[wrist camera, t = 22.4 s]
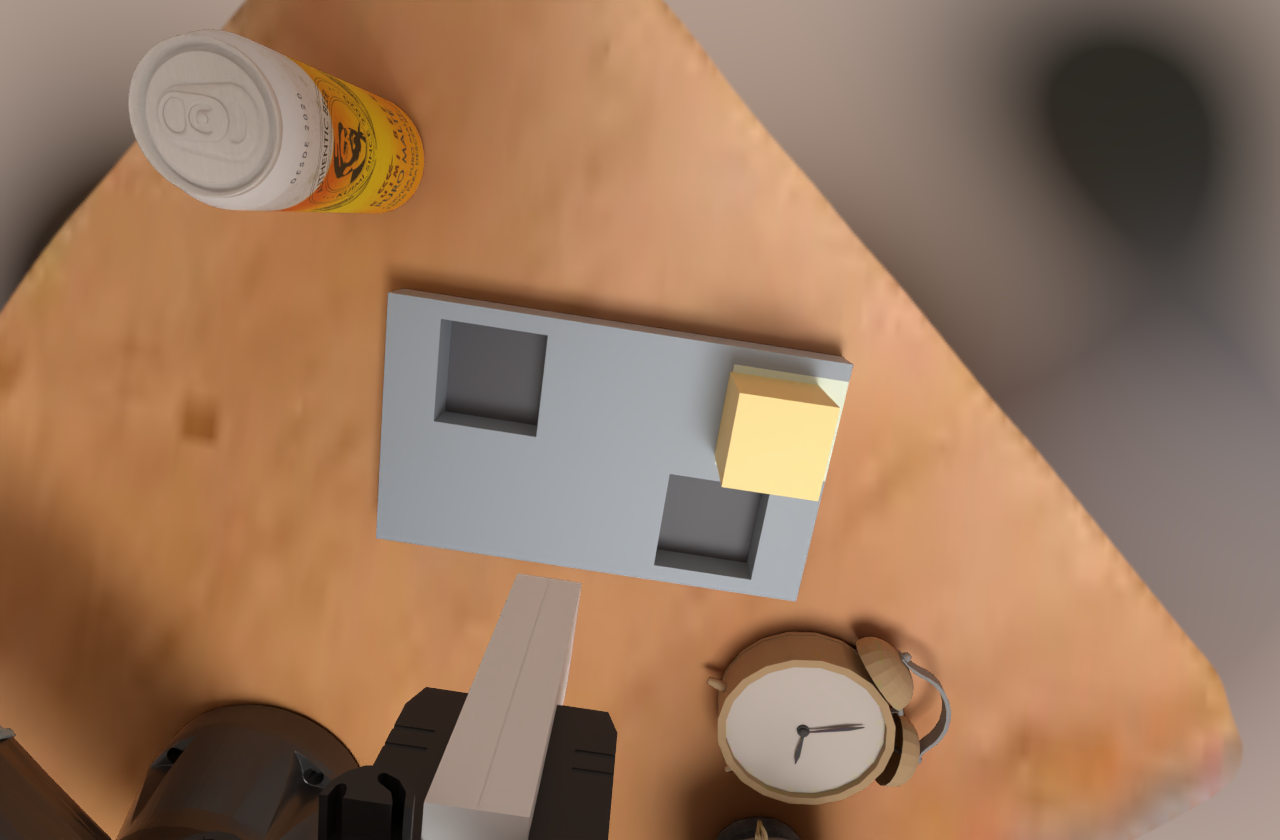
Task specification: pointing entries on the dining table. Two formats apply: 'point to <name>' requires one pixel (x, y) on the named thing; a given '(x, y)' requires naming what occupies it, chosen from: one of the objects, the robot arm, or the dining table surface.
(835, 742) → the alarm clock
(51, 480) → the dining table surface
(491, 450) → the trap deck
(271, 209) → the beer can
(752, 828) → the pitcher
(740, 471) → the block
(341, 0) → the dining table surface
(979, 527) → the dining table surface
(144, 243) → the dining table surface
